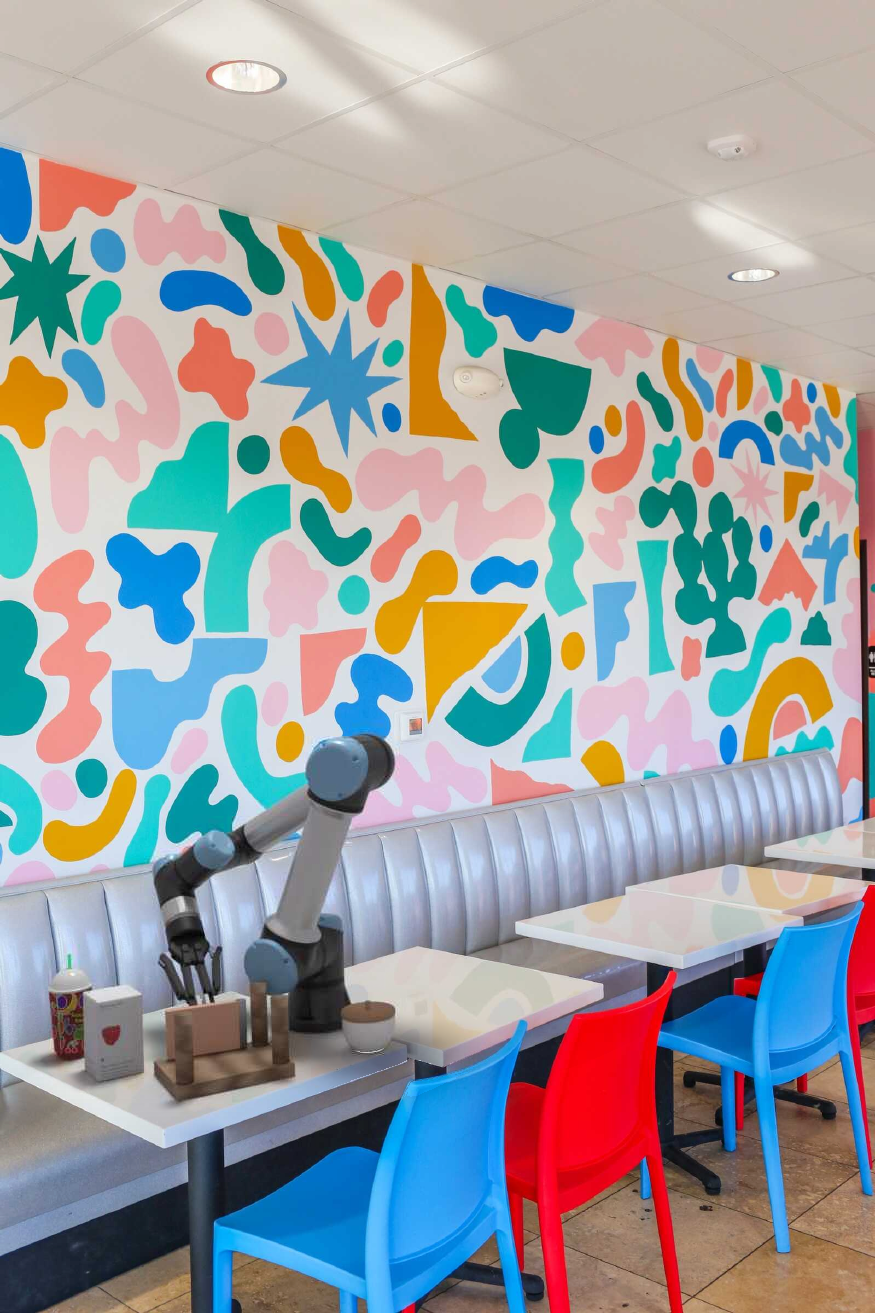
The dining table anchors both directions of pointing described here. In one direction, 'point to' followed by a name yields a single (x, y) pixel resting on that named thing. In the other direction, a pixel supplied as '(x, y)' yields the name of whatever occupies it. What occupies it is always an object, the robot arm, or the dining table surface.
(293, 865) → the robot arm
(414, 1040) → the dining table surface
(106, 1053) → the supplement box
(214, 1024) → the leg panel
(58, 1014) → the smoothie
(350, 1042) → the lidded jar
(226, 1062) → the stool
